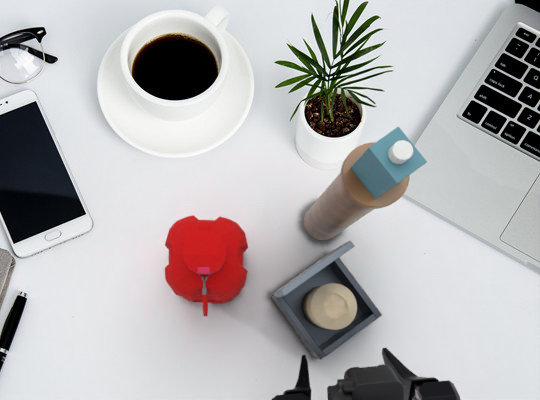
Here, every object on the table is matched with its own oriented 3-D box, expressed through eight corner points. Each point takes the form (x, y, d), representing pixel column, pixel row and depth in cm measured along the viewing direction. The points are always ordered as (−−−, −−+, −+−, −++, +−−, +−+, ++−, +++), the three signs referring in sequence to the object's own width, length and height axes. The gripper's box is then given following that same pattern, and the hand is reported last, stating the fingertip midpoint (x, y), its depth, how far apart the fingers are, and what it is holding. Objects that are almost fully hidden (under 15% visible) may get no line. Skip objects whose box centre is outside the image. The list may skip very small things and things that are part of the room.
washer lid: (355, 246, 68) (350, 240, 68) (284, 296, 67) (280, 290, 67) (337, 254, 78) (334, 249, 78) (276, 298, 77) (272, 293, 77)
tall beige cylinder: (352, 227, 84) (423, 181, 55) (317, 252, 84) (369, 220, 55) (326, 192, 86) (381, 129, 56) (291, 217, 85) (328, 166, 56)
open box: (371, 314, 82) (382, 315, 77) (313, 356, 82) (320, 360, 76) (327, 256, 84) (335, 252, 78) (270, 296, 83) (274, 295, 78)
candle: (350, 300, 82) (368, 298, 72) (330, 335, 81) (345, 339, 71) (314, 278, 83) (327, 273, 73) (293, 313, 82) (303, 313, 72)
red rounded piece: (174, 314, 84) (154, 315, 59) (176, 234, 86) (158, 203, 61) (242, 317, 83) (250, 318, 58) (243, 236, 85) (252, 205, 60)
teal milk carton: (401, 180, 55) (433, 157, 47) (375, 199, 55) (402, 179, 47) (376, 149, 56) (403, 120, 48) (350, 167, 56) (372, 142, 47)
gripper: (500, 417, 53) (434, 294, 66) (284, 436, 53) (260, 309, 66) (478, 491, 59) (421, 364, 72) (284, 507, 59) (263, 378, 72)
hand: (343, 353), depth 70 cm, fingers open, 9 cm apart
